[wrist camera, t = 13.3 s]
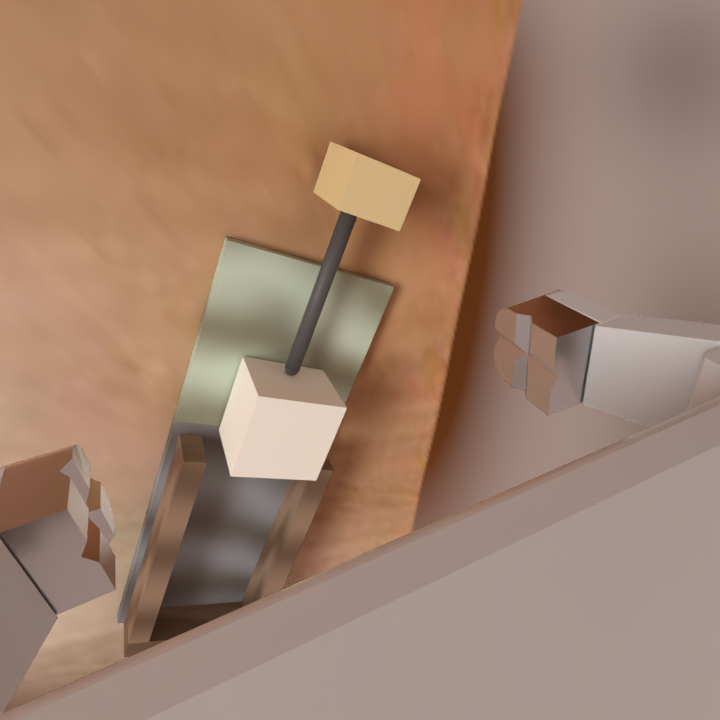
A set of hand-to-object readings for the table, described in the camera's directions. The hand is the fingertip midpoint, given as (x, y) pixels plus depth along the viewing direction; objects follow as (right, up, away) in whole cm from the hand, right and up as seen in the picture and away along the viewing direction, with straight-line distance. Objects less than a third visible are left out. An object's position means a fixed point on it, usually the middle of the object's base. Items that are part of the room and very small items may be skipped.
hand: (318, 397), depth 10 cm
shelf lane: (-8, -7, +30) cm, 31 cm away
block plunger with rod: (-3, +4, +24) cm, 25 cm away
